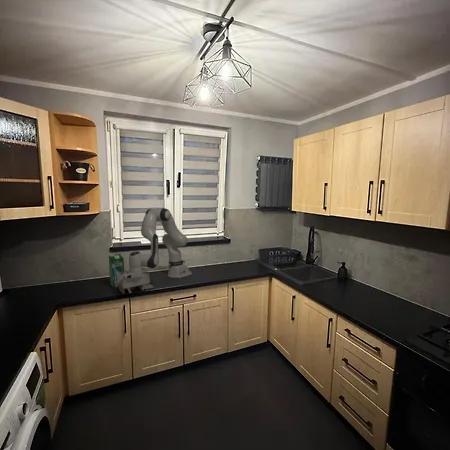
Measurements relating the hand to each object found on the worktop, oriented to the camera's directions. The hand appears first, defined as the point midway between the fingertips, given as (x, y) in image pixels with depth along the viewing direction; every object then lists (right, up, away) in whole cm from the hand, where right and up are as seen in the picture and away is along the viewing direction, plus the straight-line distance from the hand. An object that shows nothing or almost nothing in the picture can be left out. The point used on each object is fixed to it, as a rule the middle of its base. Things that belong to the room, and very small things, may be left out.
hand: (136, 291), depth 191 cm
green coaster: (+3, -1, +15) cm, 16 cm away
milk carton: (-23, 0, +20) cm, 30 cm away
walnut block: (-8, -1, +10) cm, 13 cm away
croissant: (-8, -1, +10) cm, 13 cm away
